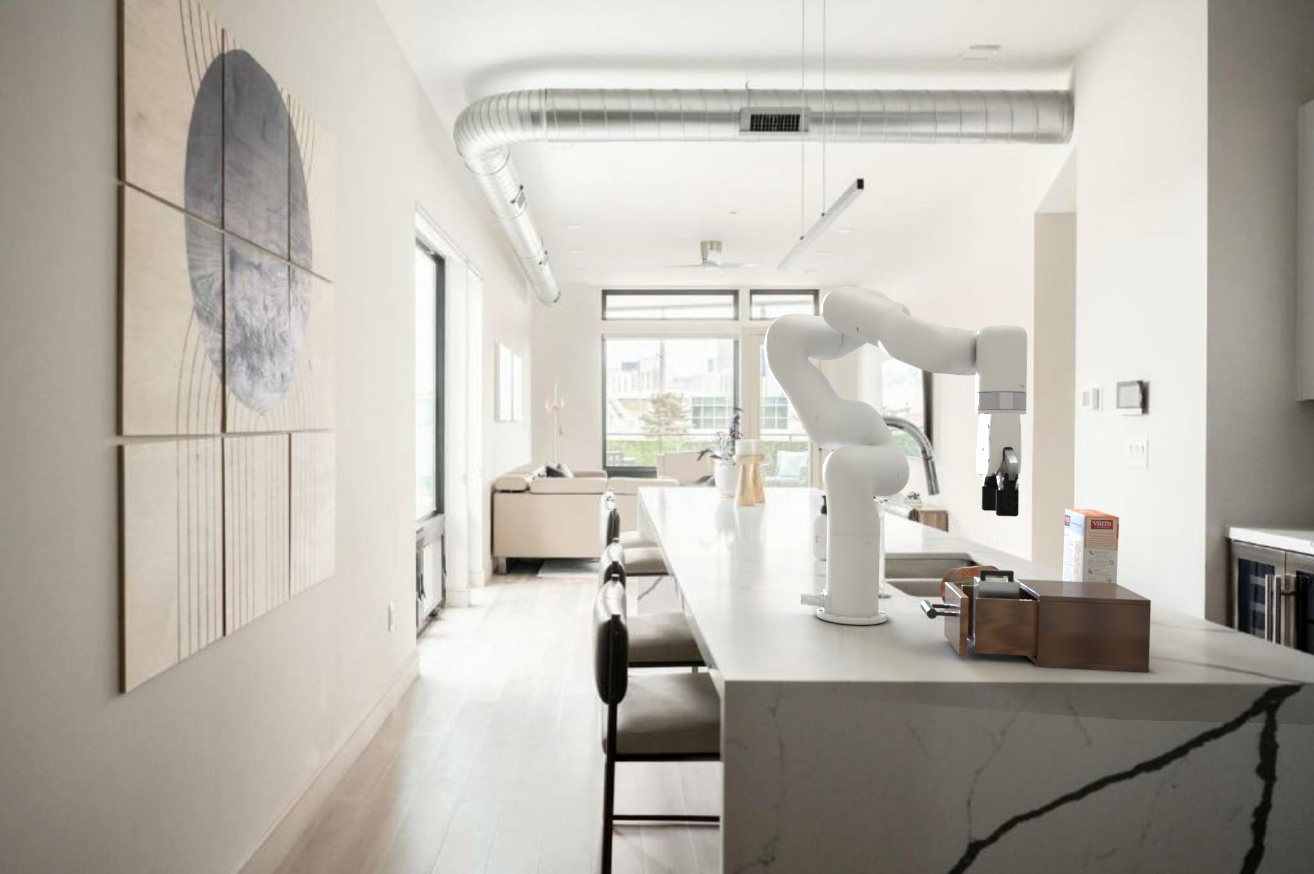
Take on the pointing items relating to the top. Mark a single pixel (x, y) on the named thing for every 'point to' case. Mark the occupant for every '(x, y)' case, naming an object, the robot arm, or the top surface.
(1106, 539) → the cracker box
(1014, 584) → the grater
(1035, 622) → the drawer
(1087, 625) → the cabinet
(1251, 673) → the top surface
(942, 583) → the tin
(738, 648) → the top surface
